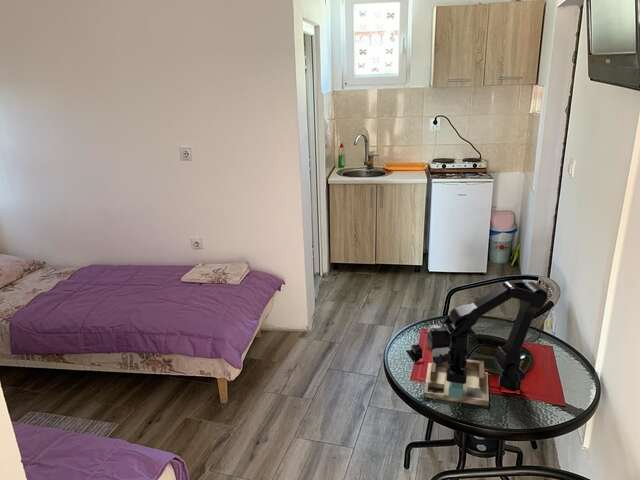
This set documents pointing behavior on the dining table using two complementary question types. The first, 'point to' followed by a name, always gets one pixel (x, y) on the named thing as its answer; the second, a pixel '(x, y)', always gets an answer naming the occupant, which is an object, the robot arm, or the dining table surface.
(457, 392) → the block
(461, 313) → the robot arm
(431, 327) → the game die
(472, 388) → the board
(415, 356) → the black box
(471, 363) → the cubby
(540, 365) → the dining table surface
